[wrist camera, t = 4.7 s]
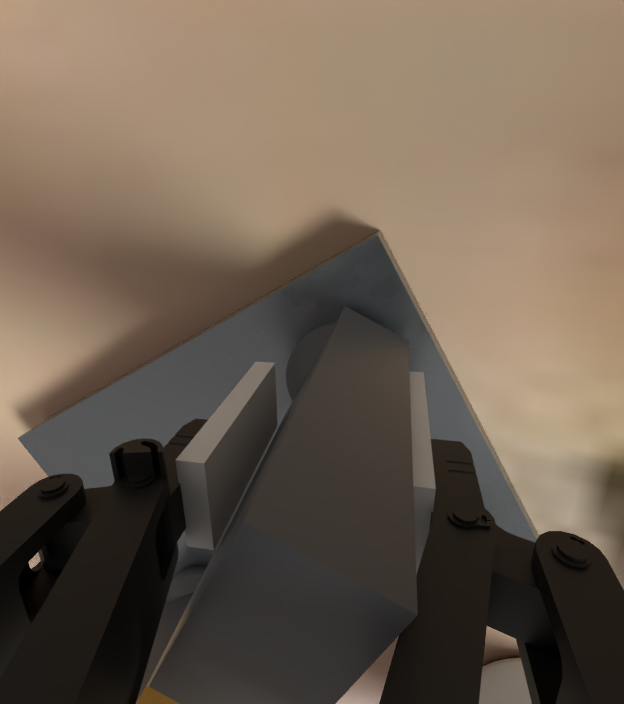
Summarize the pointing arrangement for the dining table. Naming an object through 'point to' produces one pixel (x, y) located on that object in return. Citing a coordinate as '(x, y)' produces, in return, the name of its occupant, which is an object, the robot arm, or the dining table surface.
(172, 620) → the knob
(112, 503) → the robot arm
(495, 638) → the dining table surface
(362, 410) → the yellow-tipped grey bar
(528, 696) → the milk bottle
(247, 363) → the levelling plate
